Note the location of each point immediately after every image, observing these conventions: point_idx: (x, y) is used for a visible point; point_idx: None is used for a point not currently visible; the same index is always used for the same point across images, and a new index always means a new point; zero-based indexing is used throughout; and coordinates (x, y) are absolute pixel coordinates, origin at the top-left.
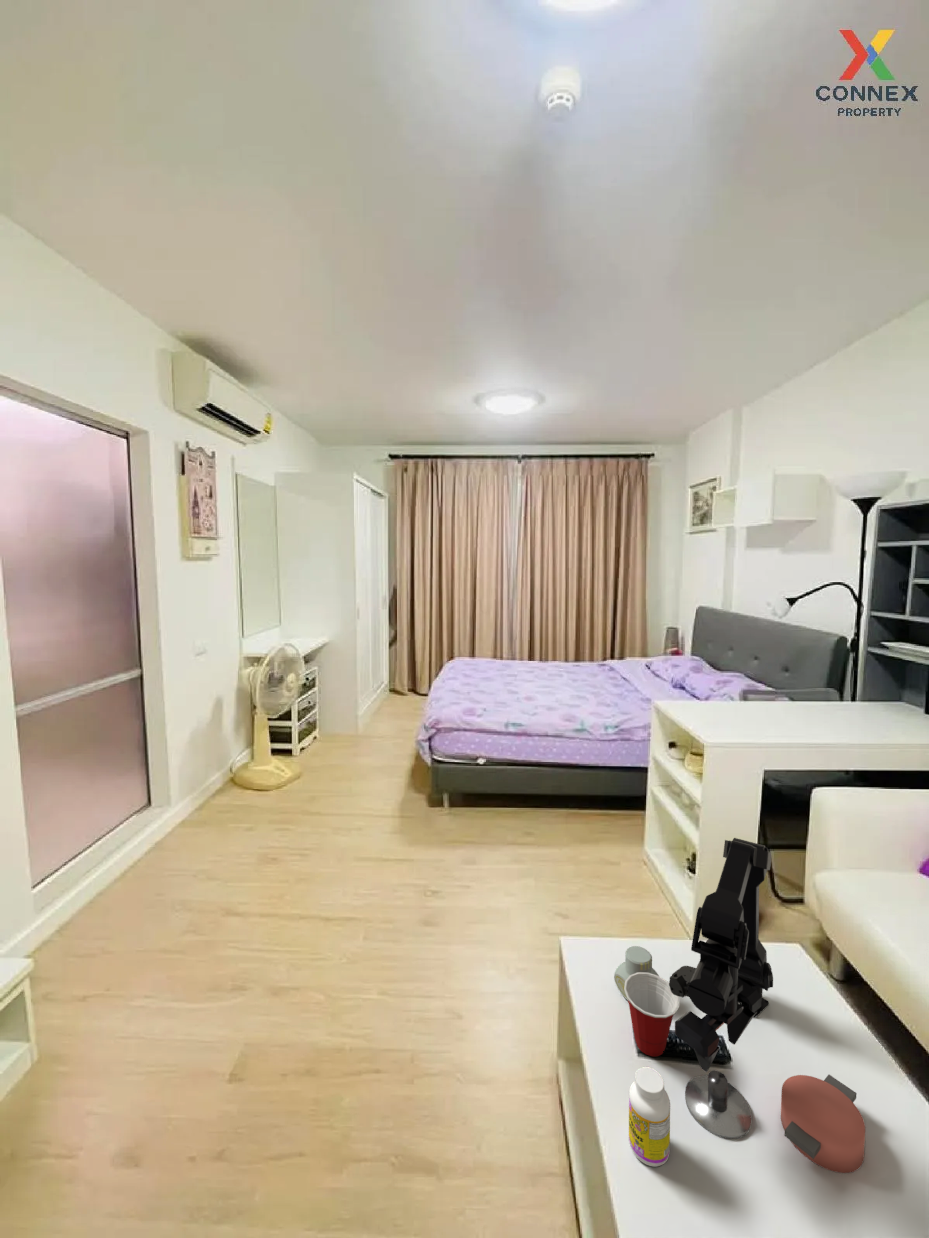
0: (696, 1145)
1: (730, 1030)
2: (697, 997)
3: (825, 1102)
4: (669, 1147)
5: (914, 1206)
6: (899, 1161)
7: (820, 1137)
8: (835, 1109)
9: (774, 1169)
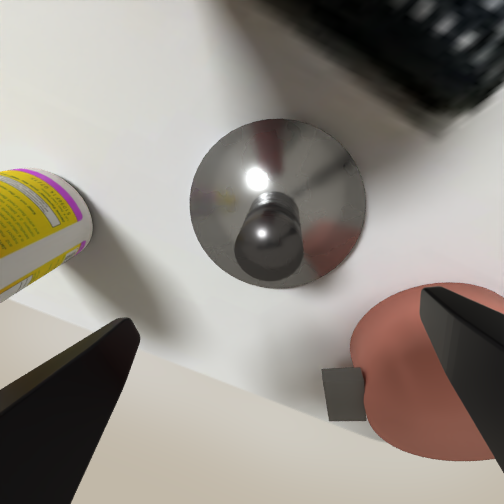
0: (159, 252)
1: (481, 359)
2: None
3: None
4: (71, 257)
5: None
6: None
7: (373, 428)
8: None
9: (273, 338)
